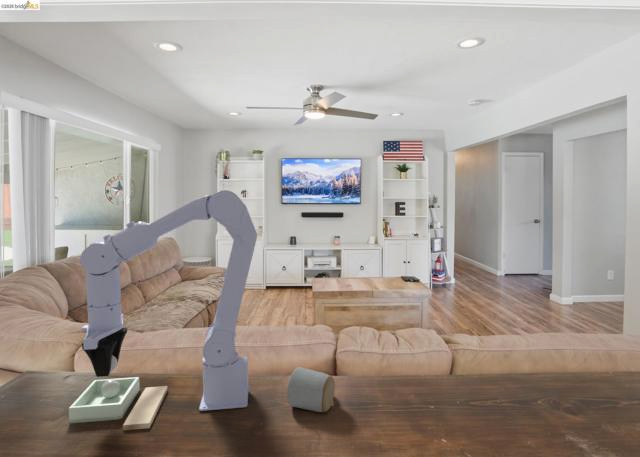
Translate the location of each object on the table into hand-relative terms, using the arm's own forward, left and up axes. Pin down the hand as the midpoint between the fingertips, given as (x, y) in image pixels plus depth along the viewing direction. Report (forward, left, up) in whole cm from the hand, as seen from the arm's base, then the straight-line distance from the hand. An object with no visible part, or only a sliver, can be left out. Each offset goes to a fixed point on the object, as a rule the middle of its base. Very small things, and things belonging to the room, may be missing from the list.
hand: (107, 370), depth 75 cm
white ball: (+1, -5, -6) cm, 8 cm away
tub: (+1, -3, -9) cm, 9 cm away
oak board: (-7, 0, -9) cm, 11 cm away
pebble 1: (0, 0, +1) cm, 1 cm away
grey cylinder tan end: (-41, +3, -9) cm, 42 cm away
